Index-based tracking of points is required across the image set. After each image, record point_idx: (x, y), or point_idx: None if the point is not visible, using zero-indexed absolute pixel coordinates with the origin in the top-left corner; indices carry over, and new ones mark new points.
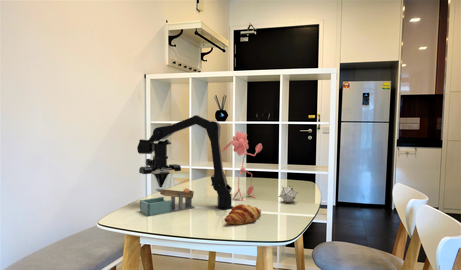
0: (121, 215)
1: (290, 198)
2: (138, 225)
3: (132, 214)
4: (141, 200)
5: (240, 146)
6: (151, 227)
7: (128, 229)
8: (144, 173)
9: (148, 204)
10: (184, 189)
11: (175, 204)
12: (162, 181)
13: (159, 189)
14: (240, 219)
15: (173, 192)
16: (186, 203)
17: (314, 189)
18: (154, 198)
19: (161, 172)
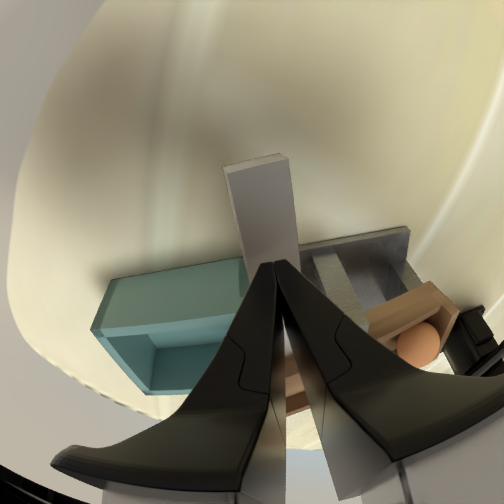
0: (45, 297)
1: None
2: (131, 392)
3: (84, 303)
4: (99, 337)
5: None
6: (168, 409)
7: (111, 399)
8: (52, 496)
9: (147, 394)
10: (411, 361)
11: (344, 245)
12: (299, 372)
13: (267, 212)
14: None
15: (302, 406)
16: (391, 281)
17: None
18: (182, 327)
19: (355, 483)
